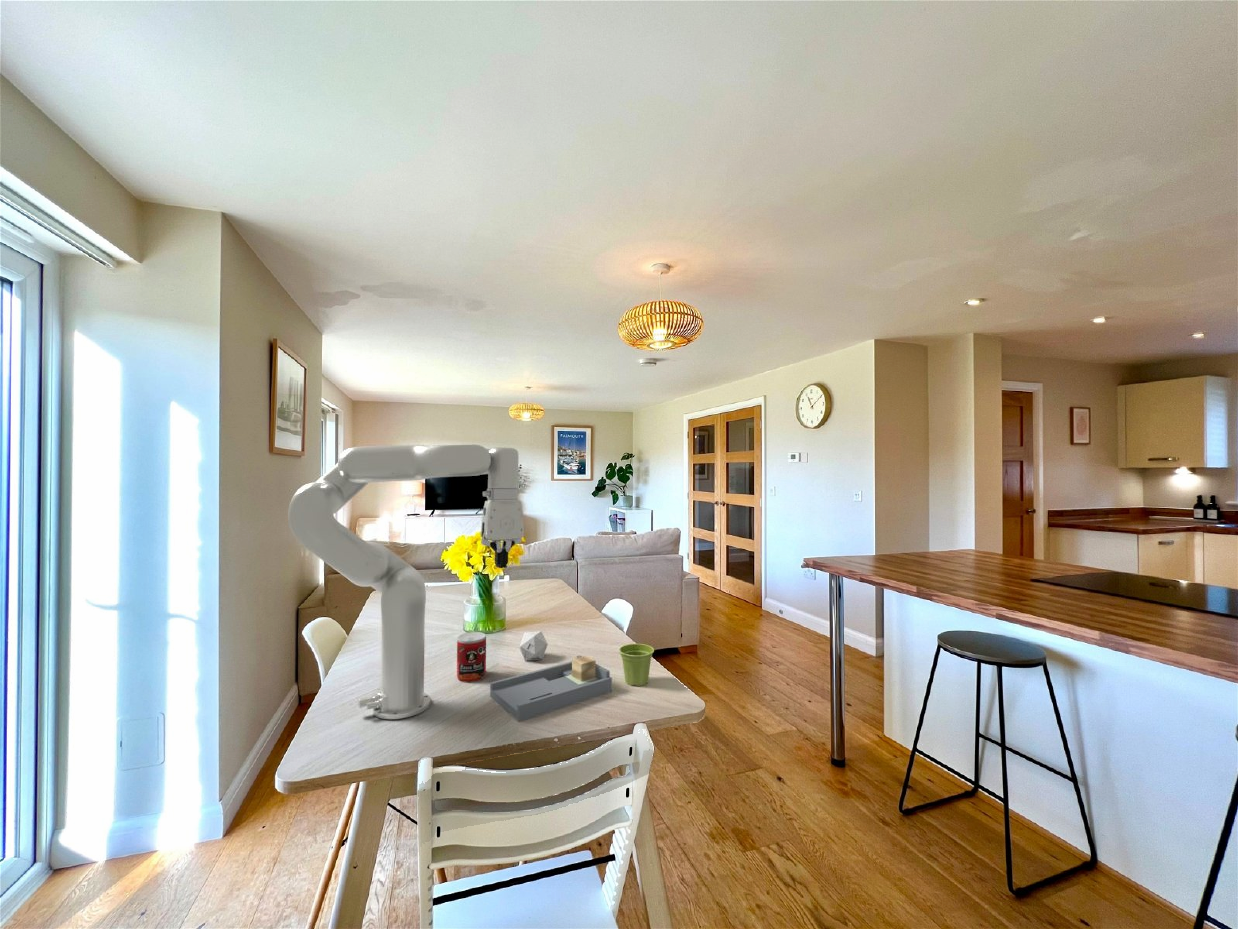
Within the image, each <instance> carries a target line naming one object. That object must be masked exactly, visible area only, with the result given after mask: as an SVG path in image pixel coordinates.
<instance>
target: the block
mask: <svg viewBox="0 0 1238 929" xmlns="http://www.w3.org/2000/svg"><path fill="white" fill-rule="evenodd" d="M581 656H582V657H578V658H577V657H575V658H571V661H572V676H573V677H574V678H576V679H578V680H579V681H581V682H582V681H585V680H589V679H592V678H596V664H597V663H596V661H597V660H596V659H594V658H592V657H590V656H588V655H581Z"/></svg>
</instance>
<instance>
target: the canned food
mask: <svg viewBox="0 0 1238 929" xmlns="http://www.w3.org/2000/svg"><path fill="white" fill-rule="evenodd" d="M456 644H457V645H456V677H457V680H459V681H461V682H464V683H473V682H477V681H480V680H482V679H483V678H485V676H486V673H487V635H486V633H484V632H480V631H479V632H478V631H472V632H466V633H462V634H460V635H459V636H457V639H456Z"/></svg>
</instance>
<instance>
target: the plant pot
mask: <svg viewBox="0 0 1238 929" xmlns="http://www.w3.org/2000/svg"><path fill="white" fill-rule="evenodd" d="M618 652H619V653H620V657H621V659H622V665H623V666H622V667H623V674H624V680H625V683H626V684H627V685H629V686H637V687H640V686H644V685H646V684H648V682H649V678H650V677H649V676H650V669H651V660H652V658H653V653H654V652H655V649H654V647H652V646H651V645H648V644H645V643H628V644H624V645H621V646H620V647H619V648H618Z"/></svg>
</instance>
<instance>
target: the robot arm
mask: <svg viewBox="0 0 1238 929" xmlns="http://www.w3.org/2000/svg"><path fill="white" fill-rule="evenodd" d="M480 475H488V476H487V478H488V479H487V488H486V490H485V491H482V497H486V499H487V500H485V501H484V505H483V510H482V516H481V523H480V524H481V526H480V536H481V537H480V538H481V539H480V540H481V541H480V544H481V545H482V546H488V547H490V549H491V550H492V551H493V552H494V565H495V568H499V569H503V568H504V569H506V568H508V563H509V552H511V549H512V548H513V547H515V546H514V545H518V544H520V543H522V540H523V538H524V535H525V534H524V533H525V532H524V531H525V530H524V528H525V527H524V526H525V525H524V524H525V523H524V513H523V506H522V502H521V500H519V498H518V495H519V492H518V491H519V488H518V487H519V451H518V450H517V449H516V448H514V447H501V446H500V447H493V448H486V447H484V446H482V445H479V444H474V443H472V444H447V445H446V444H444V445H442V444H441V445H424V444H423V445H421V444H410V445H409V444H408V445H407V444H406V445H379V446H378V445H371V446H370V445H369V446H353V447H349V448H347V449H345V450H343V451H342V452H341V454H340V455H339V458H338V460H337V463H336V464H335V465H334V466H333V467H332V468H330V469H329V470H328V471H327V472H326V473H325V474H324V475H323V476H321V477H320V478H319V479H318V480H317V481H314V482H310V483H306V484H305V485H302V486H301V487H300V488H298V489H297V490H296V491H295V493H294V494H293V496H292V498H291V500H290V502H289V506H288V512H287V520H288V521H287V522H288V524H289V528H290V531H291V534H293V536H294V537H295V539H296V541H298V543H299V544H301V546H303V547H304V548H305V549H306V550H308V551H309V552H311V553H312V554H313V555H314V556H316V557H317V558H318V559H320V560H322V561H323V562H324V563H325V564H327V565H328V566H329V567H331V568H332V569H333V570H334V571H336V572H338V573H339V574H341V575H342V576H343V577H345V579H347V580H348V581H350V582H351V583H352V584H354V585H356V586H357V587H358V586H359V587H364V588H367V587H368V588H369V587H371V588H372V589H374V590H375V591H377V592H378V593H379V594H381V596H380V598H381V599H380V621H381V622H380V624H381V625H380V629H381V630H380V632H381V633H380V635H381V636H380V638H381V639H380V688H378V689H376V693H374V694H373V695H372V696H369V697H363V698H359V699H357V708H358V709H361V708H365V709H366V710H371V709H372V713H373V715H374V716H375V717H377V718H380V719H381V720H382V719H383V720H399V719H400V720H402V719H405V718H410V717H412V716H413V717H414V716H415V715H419V714H421V713H423V712H424V711H426V710H427V709H428V708H429V707H430V705H431V704H432V701H431V700H432V699H431V696H430V695H429V694H428V693H426V692H425V646H426V645H425V644H426V643H425V642H426V641H425V640H426V639H425V633H426V632H425V628H426V627H425V625H426V604H427V603H426V602H427V599H426V596H427V593H426V585H425V580H424V577H423V576H422V573H420V572H419V570H417V569H416V568H414V566H412V565H410V564H409V563H408V562H406V561H405V560H404V559H403V558H401V557H400V556H399V555H397V554H396V553H395V552H393V551H392V550H390V549H389V548H388V547H387V546H385V545H383V544H381V543H379V542H375V541H365V540H364V539H362V537H360V536H358V535H357V534H355V533H354V532H353V531H352V530H351V529H349V528H348V527H347V526H345V525H343V524H342V523H340V522H339V521H338V520H337V519H336V518H335V516H334V514H336V513H337V512H339V511H340V510H342V508H343V507H344V506H345V505H346V504H347V503H348V502H350V501H351V500H352V499H353V498H354V497H356V495H357V494H359V493H360V492H361V491H362V490H363V489H364V488H365V487H366V486H367V485H368V484H369V483H384V482H387V483H388V482H407V481H409V482H410V481H422V480H426V479H427V480H428V479H433V478H450V477H451V478H453V477H472V476H475V477H476V476H480Z"/></svg>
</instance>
